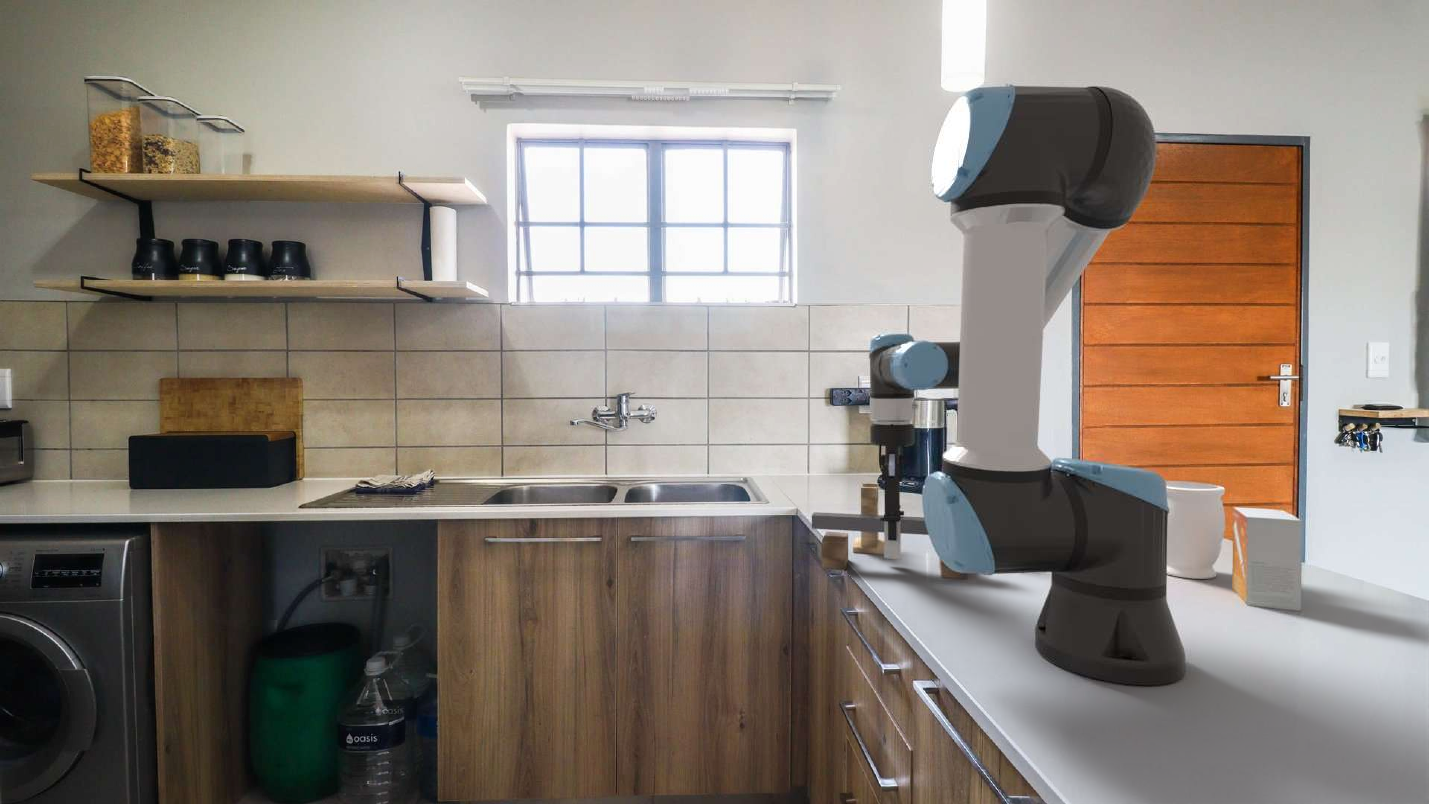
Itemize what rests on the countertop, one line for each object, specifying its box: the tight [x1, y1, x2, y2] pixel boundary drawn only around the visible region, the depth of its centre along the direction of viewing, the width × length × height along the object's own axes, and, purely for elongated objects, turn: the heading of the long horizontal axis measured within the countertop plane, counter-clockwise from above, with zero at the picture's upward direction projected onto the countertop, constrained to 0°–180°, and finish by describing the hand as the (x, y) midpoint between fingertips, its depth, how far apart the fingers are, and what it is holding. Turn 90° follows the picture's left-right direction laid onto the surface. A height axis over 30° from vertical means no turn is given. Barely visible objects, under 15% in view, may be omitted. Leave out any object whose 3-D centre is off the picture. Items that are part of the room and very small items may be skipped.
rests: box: [821, 531, 968, 580], centre depth 113 cm, size 24×7×5 cm, turn 73°
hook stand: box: [852, 482, 884, 555], centre depth 124 cm, size 27×8×12 cm, turn 73°
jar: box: [1164, 480, 1226, 580], centre depth 109 cm, size 11×10×15 cm
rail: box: [811, 511, 929, 536], centre depth 113 cm, size 28×3×2 cm, turn 73°
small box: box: [1231, 506, 1303, 612], centre depth 95 cm, size 8×6×13 cm
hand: (892, 554), depth 113 cm, fingers closed on rail, 3 cm apart
